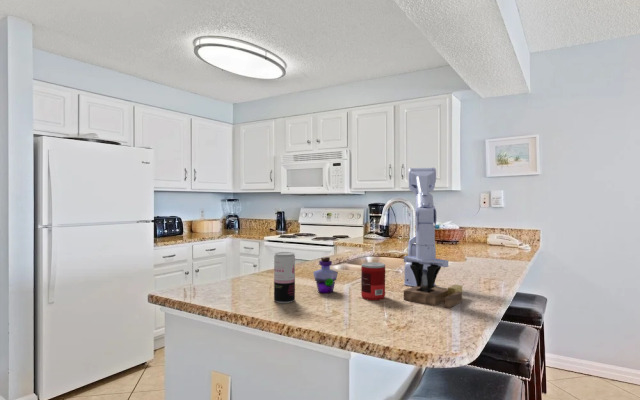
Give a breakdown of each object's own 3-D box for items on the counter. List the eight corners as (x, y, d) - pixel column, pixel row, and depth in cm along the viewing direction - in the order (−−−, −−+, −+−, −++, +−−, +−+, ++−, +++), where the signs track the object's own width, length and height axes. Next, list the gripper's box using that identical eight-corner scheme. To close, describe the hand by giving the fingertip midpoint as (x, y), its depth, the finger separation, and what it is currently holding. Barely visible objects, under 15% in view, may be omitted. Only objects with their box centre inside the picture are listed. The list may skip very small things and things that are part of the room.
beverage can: (285, 297, 129) (286, 251, 129) (299, 300, 125) (299, 253, 124) (269, 300, 125) (270, 253, 125) (282, 304, 120) (283, 255, 120)
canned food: (387, 296, 131) (387, 263, 131) (381, 301, 124) (381, 266, 124) (365, 293, 134) (365, 261, 134) (358, 299, 127) (358, 265, 127)
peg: (417, 294, 127) (418, 269, 127) (423, 293, 130) (424, 268, 130) (427, 296, 124) (428, 271, 125) (433, 295, 127) (434, 270, 127)
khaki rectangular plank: (447, 300, 126) (447, 287, 126) (455, 296, 131) (455, 284, 131) (455, 301, 125) (455, 288, 125) (462, 297, 129) (462, 285, 129)
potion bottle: (324, 295, 131) (324, 259, 131) (308, 291, 137) (308, 257, 137) (343, 291, 137) (343, 257, 137) (326, 287, 143) (326, 254, 143)
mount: (403, 299, 126) (403, 290, 126) (417, 294, 134) (418, 285, 134) (449, 308, 117) (449, 298, 117) (461, 301, 124) (461, 292, 124)
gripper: (399, 244, 128) (399, 285, 128) (441, 247, 119) (441, 292, 119) (409, 242, 134) (409, 282, 134) (451, 245, 124) (450, 288, 124)
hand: (425, 286), depth 127 cm, fingers closed on peg, 3 cm apart
